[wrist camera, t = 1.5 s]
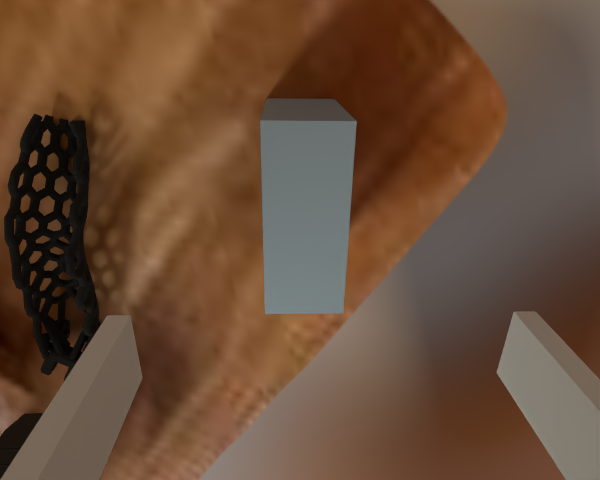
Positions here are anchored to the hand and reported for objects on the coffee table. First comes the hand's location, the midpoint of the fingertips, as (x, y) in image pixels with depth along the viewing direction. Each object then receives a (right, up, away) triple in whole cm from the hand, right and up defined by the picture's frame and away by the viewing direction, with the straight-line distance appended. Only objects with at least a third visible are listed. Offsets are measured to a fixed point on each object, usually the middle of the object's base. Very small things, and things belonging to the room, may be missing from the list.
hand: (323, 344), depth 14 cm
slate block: (-1, +9, +19) cm, 21 cm away
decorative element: (-20, +3, +21) cm, 29 cm away
